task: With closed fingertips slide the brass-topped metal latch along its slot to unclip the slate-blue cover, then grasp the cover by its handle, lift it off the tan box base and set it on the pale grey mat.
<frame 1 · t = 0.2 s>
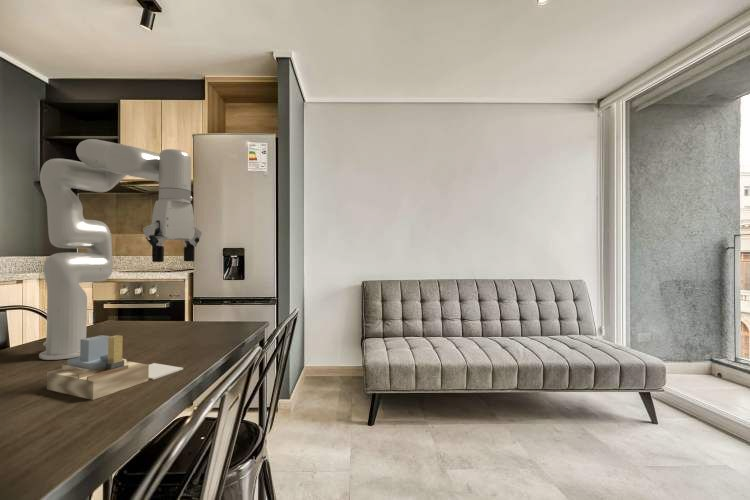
hand: (174, 261, 98), 30 cm above the table, fingers open, 9 cm apart
cover: (95, 366, 90), point 4 cm above the table, touching tan box base
tan box base: (99, 384, 88), on the table
mat: (153, 371, 99), on the table
latch: (111, 352, 88), point 8 cm above the table, slide at 0.0 cm
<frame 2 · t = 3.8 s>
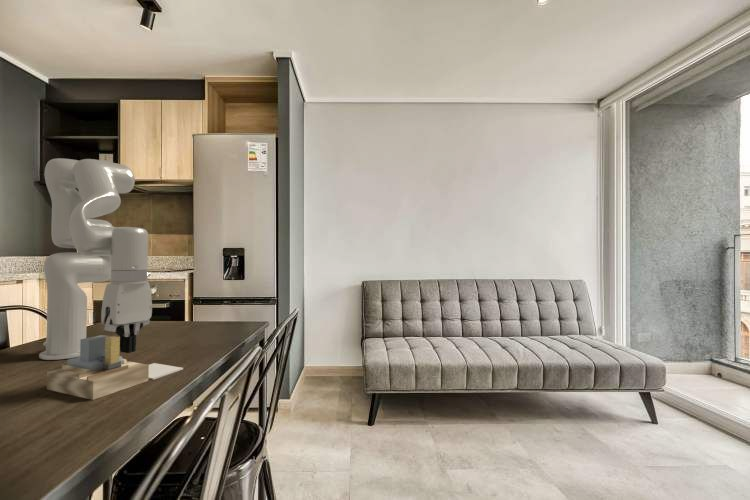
hand: (127, 351, 90), 8 cm above the table, fingers closed
latch: (108, 352, 87), point 8 cm above the table, slide at 0.7 cm, touching gripper
everything else where it was.
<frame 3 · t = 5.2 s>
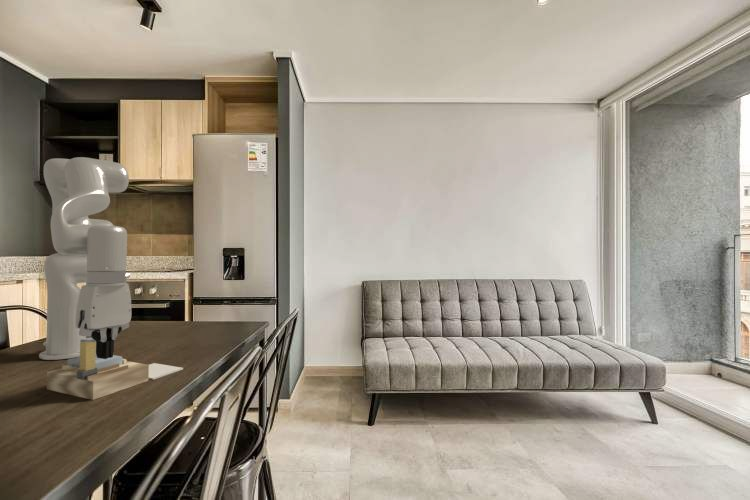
hand: (104, 357, 85), 8 cm above the table, fingers closed
latch: (83, 358, 82), point 8 cm above the table, slide at 6.1 cm, touching gripper
everything else where it was.
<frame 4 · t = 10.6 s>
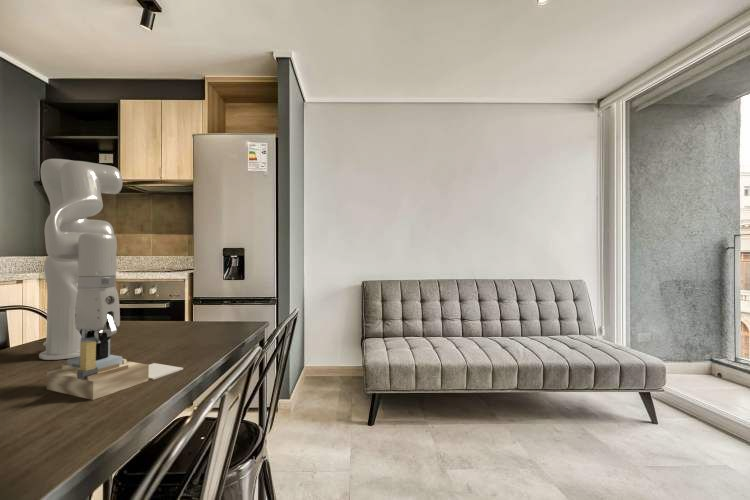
hand: (95, 357, 90), 6 cm above the table, fingers closed on cover, 3 cm apart
cover: (95, 366, 90), point 4 cm above the table, touching tan box base, gripper
latch: (83, 358, 82), point 8 cm above the table, slide at 6.0 cm
when the fingers open (4 cm above the table, at t = 16.5 s): cover stays where it is, resting on mat.
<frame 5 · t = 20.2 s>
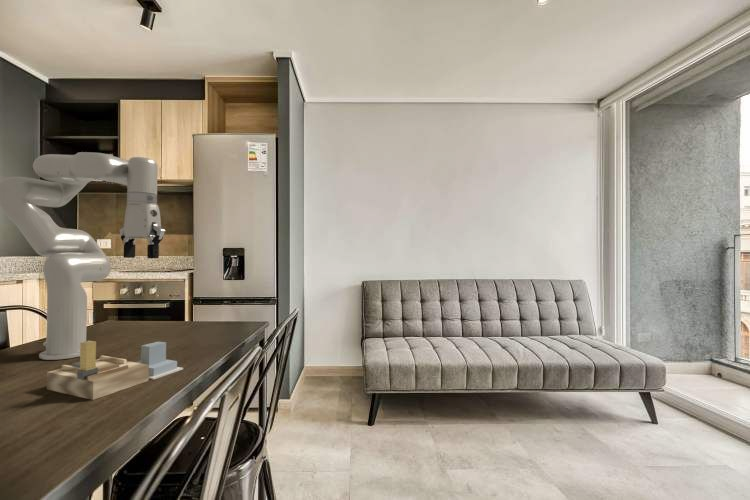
hand: (141, 257, 109), 30 cm above the table, fingers open, 9 cm apart
cover: (153, 370, 99), resting on mat
everything else where it was.
at the end: latch slide at 6.0 cm; cover inside the target area on the mat (0.1 cm from its centre), point 0.4 cm above the mat's base; cover tilted 0° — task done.
